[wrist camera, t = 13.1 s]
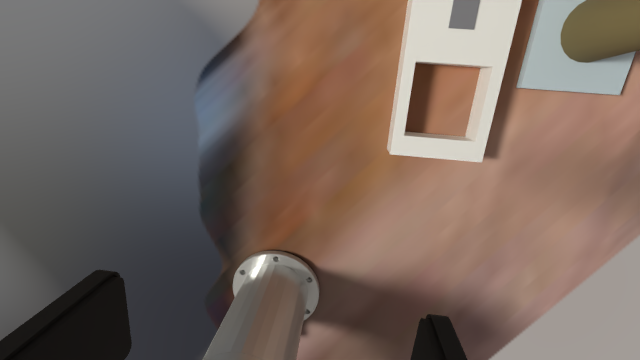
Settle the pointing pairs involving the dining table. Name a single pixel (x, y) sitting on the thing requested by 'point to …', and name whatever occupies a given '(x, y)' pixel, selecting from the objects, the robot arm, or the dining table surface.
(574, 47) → the olive rounded piece
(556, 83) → the rubber mat
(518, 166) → the dining table surface
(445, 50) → the white board with cutout
